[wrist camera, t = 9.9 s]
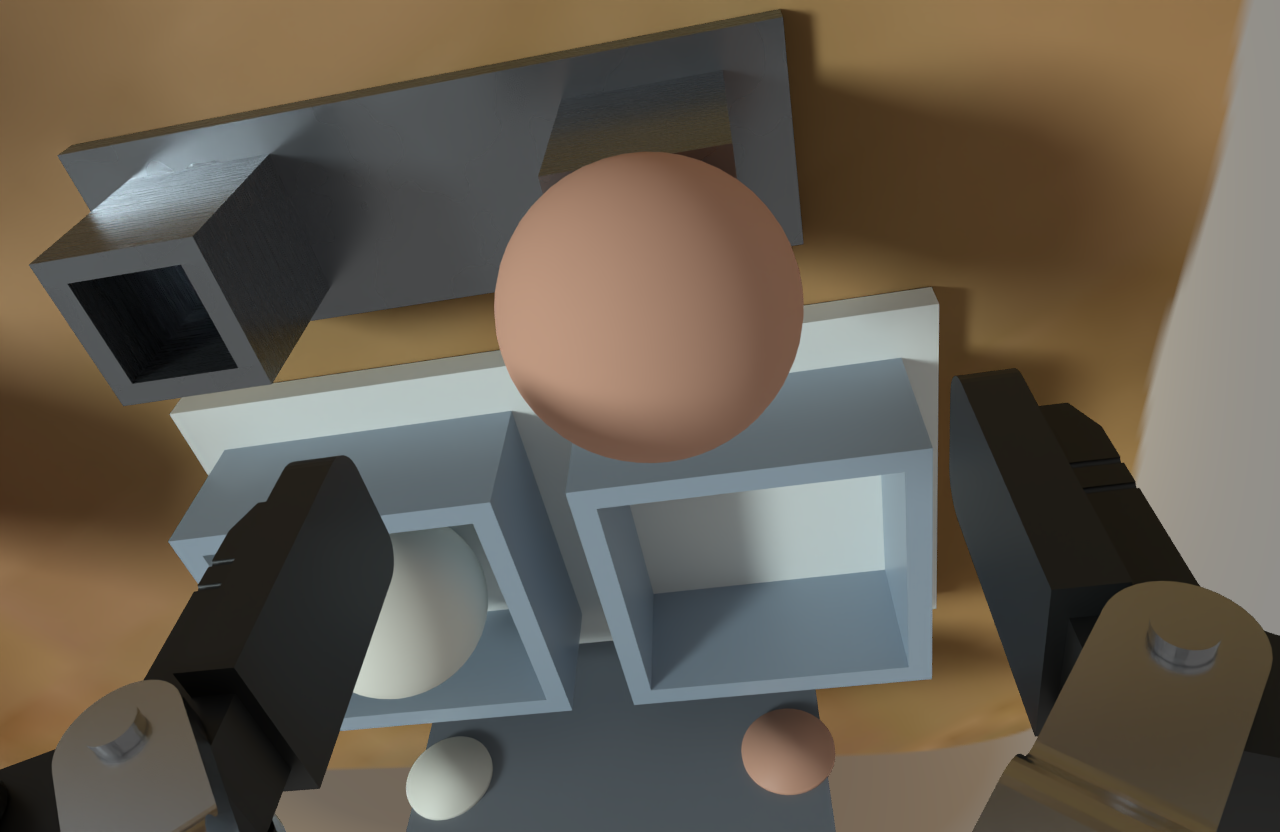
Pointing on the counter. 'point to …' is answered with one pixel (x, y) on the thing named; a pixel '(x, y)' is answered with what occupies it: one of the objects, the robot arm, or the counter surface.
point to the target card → (629, 764)
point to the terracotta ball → (648, 307)
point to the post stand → (383, 195)
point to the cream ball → (425, 615)
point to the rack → (633, 518)
